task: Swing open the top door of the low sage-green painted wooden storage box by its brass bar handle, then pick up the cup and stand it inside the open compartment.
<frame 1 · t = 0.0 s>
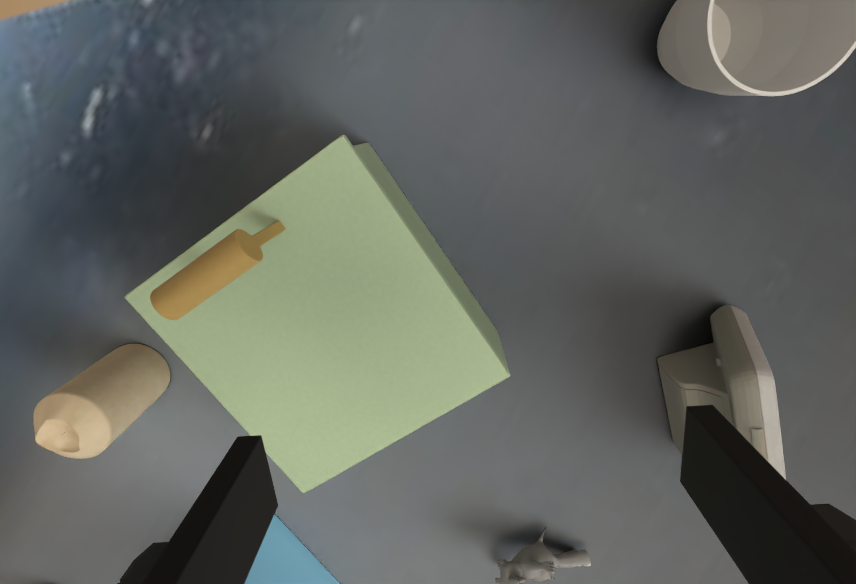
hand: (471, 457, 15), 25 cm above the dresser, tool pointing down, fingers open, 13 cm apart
lid: (308, 357, 31), point 11 cm above the dresser, hinge at 0.0°
digital clock: (711, 387, 43), on the dresser
candle: (141, 369, 44), on the dresser
chest: (344, 303, 41), on the dresser
cup: (692, 42, 34), on the dresser
planter: (257, 575, 51), on the dresser
elephant figurine: (536, 535, 48), on the dresser
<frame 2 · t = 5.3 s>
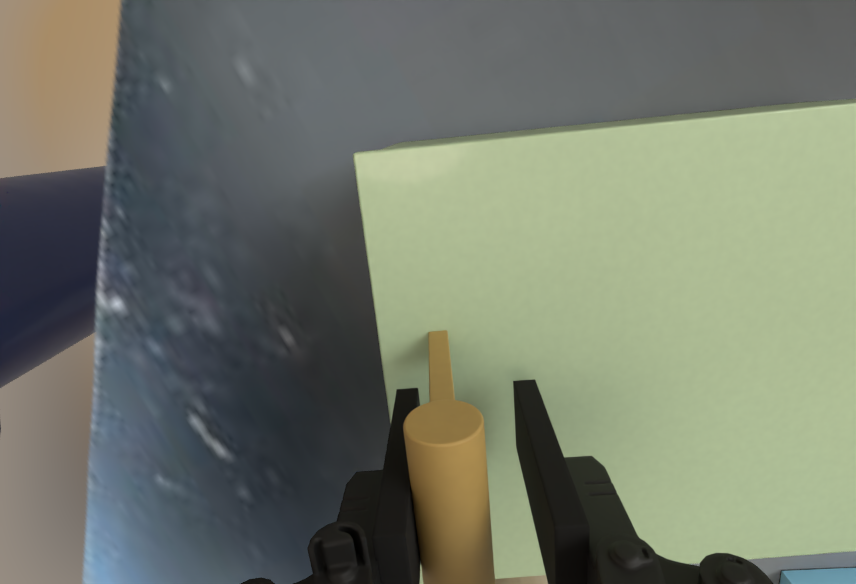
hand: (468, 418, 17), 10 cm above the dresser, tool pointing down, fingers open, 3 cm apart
lid: (682, 429, 16), point 11 cm above the dresser, hinge at 2.1°, touching gripper
candle: (511, 578, 33), on the dresser
chest: (591, 306, 26), on the dresser
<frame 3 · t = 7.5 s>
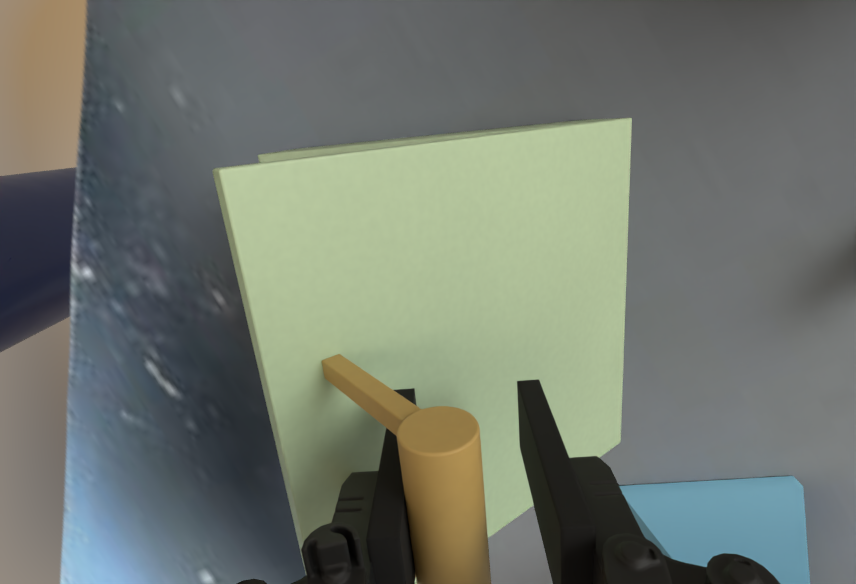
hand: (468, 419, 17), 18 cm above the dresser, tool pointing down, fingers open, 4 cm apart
lid: (552, 382, 19), point 16 cm above the dresser, hinge at 37.7°, touching gripper
chest: (448, 273, 34), on the dresser
planter: (696, 545, 42), on the dresser
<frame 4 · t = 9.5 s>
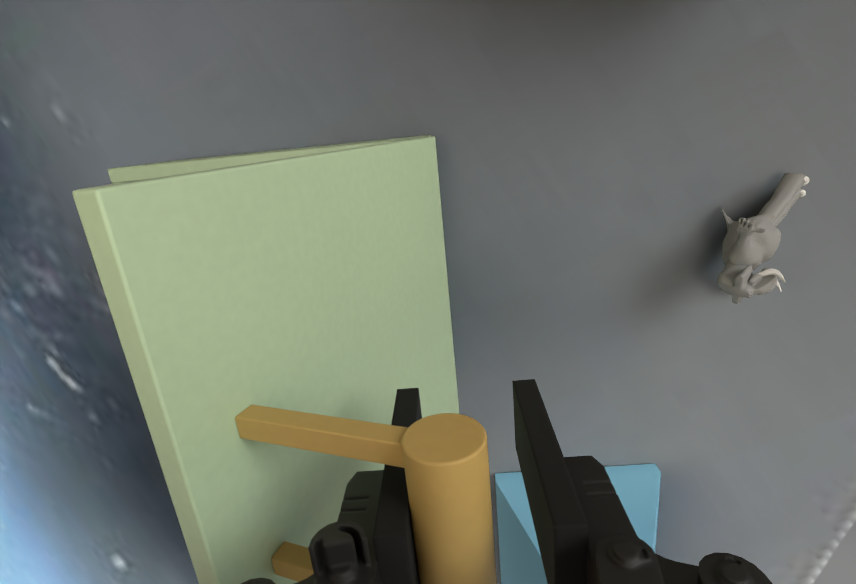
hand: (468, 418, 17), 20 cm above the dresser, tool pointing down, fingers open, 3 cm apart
lid: (444, 380, 20), point 18 cm above the dresser, hinge at 70.0°
chest: (320, 275, 37), on the dresser
planter: (573, 529, 45), on the dresser
elephant figurine: (726, 225, 35), on the dresser
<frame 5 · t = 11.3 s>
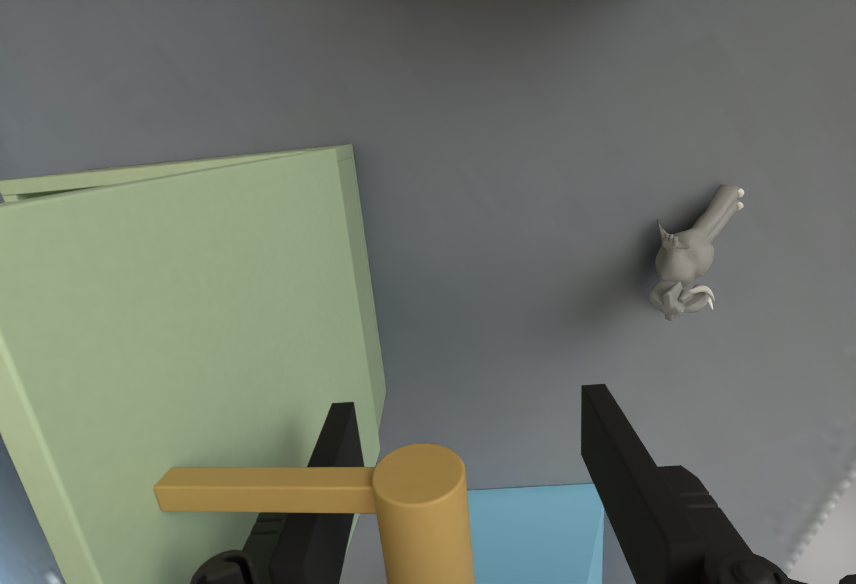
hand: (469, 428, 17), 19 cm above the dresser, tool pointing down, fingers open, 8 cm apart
lid: (377, 404, 19), point 17 cm above the dresser, hinge at 84.8°, touching gripper
chest: (244, 288, 36), on the dresser
planter: (518, 549, 43), on the dresser
elephant figurine: (664, 238, 34), on the dresser
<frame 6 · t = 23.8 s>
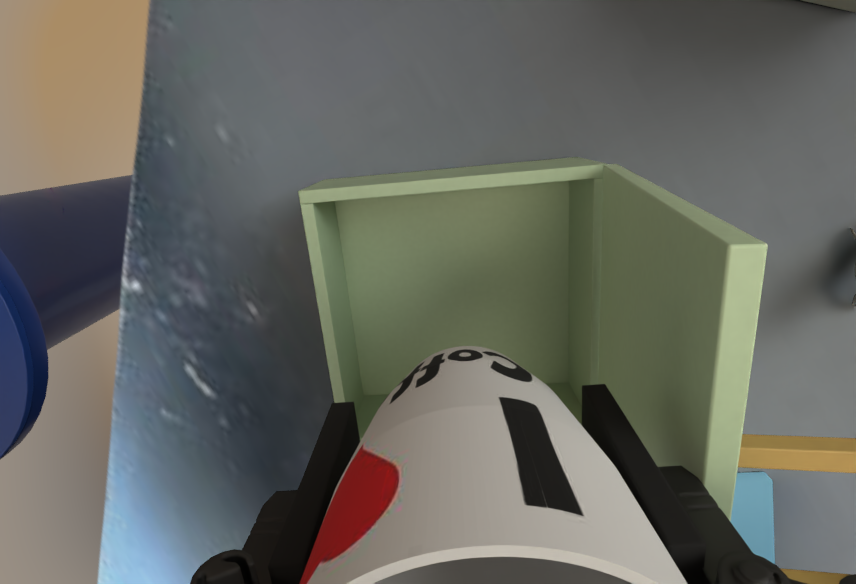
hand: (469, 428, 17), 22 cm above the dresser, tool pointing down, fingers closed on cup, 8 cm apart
lid: (721, 393, 22), point 17 cm above the dresser, hinge at 80.3°
chest: (457, 288, 39), on the dresser
cup: (467, 406, 18), point 21 cm above the dresser, touching gripper
planter: (678, 533, 46), on the dresser
elephant figurine: (853, 245, 37), on the dresser
when the fingers open (2 cm above the dresser, at t = 28.7 s): cup stays where it is, resting on chest.
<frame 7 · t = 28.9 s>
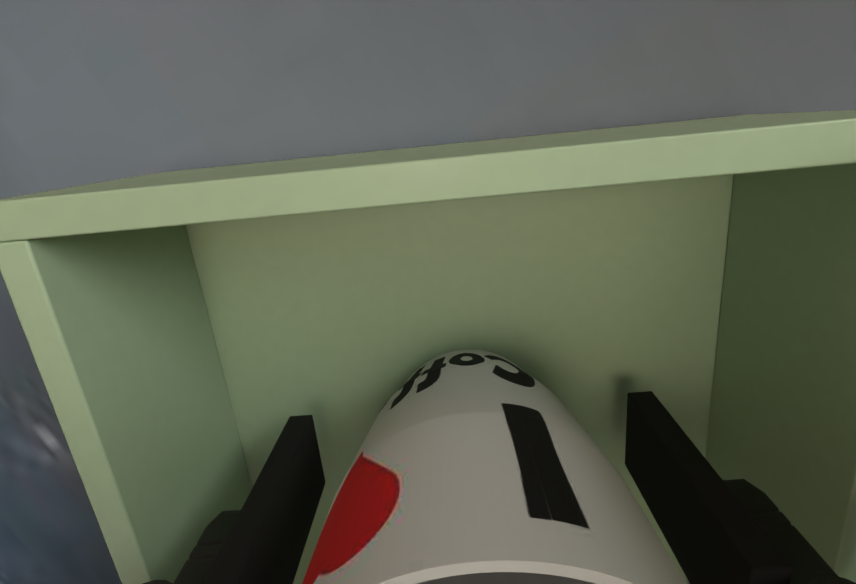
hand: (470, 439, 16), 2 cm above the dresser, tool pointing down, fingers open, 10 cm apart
chest: (467, 401, 18), on the dresser
cup: (468, 410, 18), point 1 cm above the dresser, touching chest
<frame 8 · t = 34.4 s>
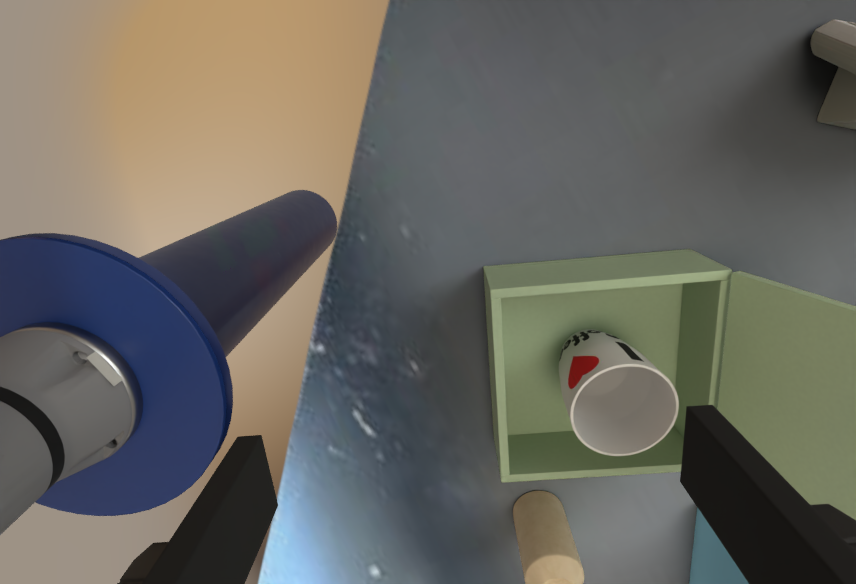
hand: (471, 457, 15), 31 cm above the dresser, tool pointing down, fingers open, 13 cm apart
candle: (537, 508, 54), on the dresser
chest: (584, 350, 47), on the dresser
cup: (586, 352, 47), point 1 cm above the dresser, touching chest
planter: (754, 546, 55), on the dresser
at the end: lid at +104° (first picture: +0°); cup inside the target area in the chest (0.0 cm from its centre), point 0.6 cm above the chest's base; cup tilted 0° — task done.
